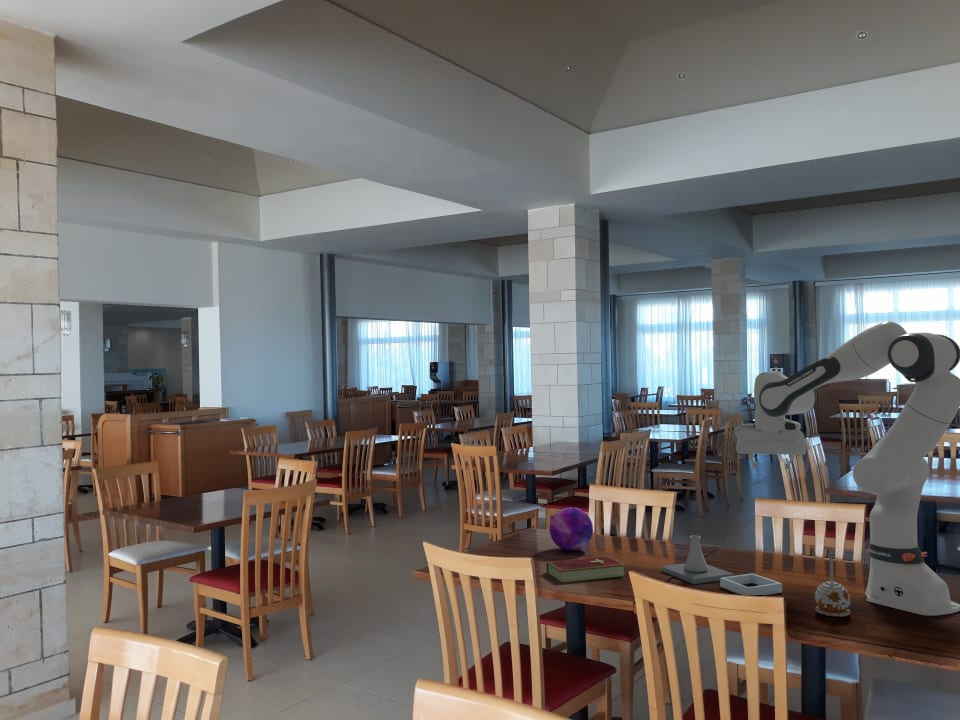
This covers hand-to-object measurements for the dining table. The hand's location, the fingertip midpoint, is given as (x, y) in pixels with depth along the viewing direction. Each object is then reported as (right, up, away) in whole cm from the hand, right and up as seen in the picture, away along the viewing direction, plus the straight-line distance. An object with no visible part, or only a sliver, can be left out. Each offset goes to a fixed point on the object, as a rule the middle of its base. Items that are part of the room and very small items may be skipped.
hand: (771, 468), depth 232 cm
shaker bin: (-14, -31, -21) cm, 40 cm away
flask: (-25, -30, -5) cm, 39 cm away
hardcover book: (-58, -33, -2) cm, 66 cm away
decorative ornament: (-1, -30, -43) cm, 53 cm away
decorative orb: (-58, -33, +29) cm, 73 cm away
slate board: (-25, -31, -5) cm, 40 cm away
